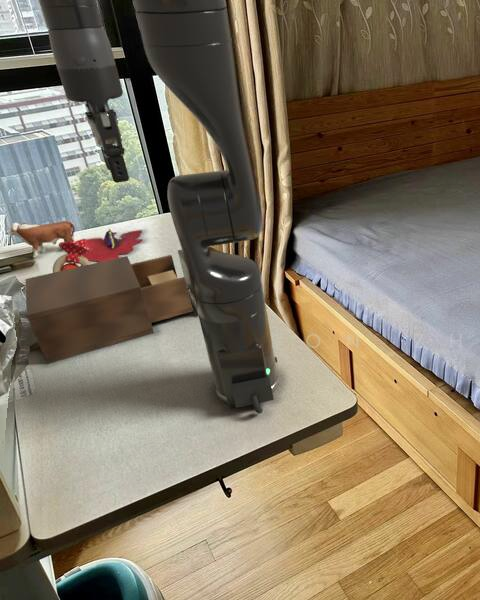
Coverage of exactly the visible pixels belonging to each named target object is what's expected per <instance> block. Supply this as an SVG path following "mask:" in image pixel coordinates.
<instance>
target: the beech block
mask: <svg viewBox="0 0 480 600" xmlns="http://www.w3.org/2000/svg"><path fill="white" fill-rule="evenodd" d="M178 278H179V277H178V276H177V277H176V275H175V273H174V272H173V270H171V271H167V272H163V273H159V274H155V275H151V276H148V280H149V284H150V285H154V284H158V283H162V282H166V281H170V280H174V279H178Z"/></svg>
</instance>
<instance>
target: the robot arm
mask: <svg viewBox="0 0 480 600" xmlns="http://www.w3.org/2000/svg"><path fill="white" fill-rule="evenodd" d="M38 3H39V7H40V10H41V13H42V17H43V20H44V23H45V27H46V29H47V32H48V38H49V43H50V48H51V52H52V55H53V58H54V61H55V65H56V69H57V71H58V75H59V78H60V81H61V85H62V87H63V91H64V94H65V97H66V99H67V100H68V101H70V102H74V103H84V102H85V107H86V108H87V111H84V115H85V118H86V121H87V123H88V125H89V127H90V130H91V133H92V137H94V138H95V140H96V143H97V145H98V146H99V147H100V150H101V154H102V157H103V160H104V164H105V167H106V169H107V170H108V171H110V174H111V175H110V176H111V178H112V180H113V183H117V184H119V183H123V182H129V180H130V175H129V172H128V169H127V165H126V162H125V157H124V156H125V150H126V149H125V147H123V143H122V142H123V137H122V133H121V130H120V126H119V117H118V115H117V111H115V109H114V108H110V106H109V103H108V102H109V100H114V99H119V98H121V97H122V96H123V94H124V91H123V87H122V83H121V78H120V75H119V72H118V68H117V64H116V61H115V57H114V53H113V48H112V45H111V42H110V39H109V37H108V34H107V32H106V29H105V27H104V22H103V18H102V16H101V15H102V14H101V11H100V7H99V2H98V0H38ZM132 3H133V4H132V5H133V7H134V11H135V16H136V20H137V24H138V29H139V33H140V37H141V38H140V39H141V41H142V45H143V49H144V53H145V56H146V60H147V61H148V64H149V65H150V67H151V69H152V70H153V71H154V72H155V74H156V75H157V76H158V78H159V79H160V80H161V81H162V83H163V84H164V85H165V86H166V87H167V88H168V90H169V91H170V92H171V93H172V94H173V95H174V96H175V97H176V98H177V99H178V100H179V101H180V103H181V104H182V105H183V106H184V107H185V108H186V109H187V110H188V111H189V112H190V113H191V114H192V116H194V118H195V119H196V120H197V121H198V122H199V123H200V125H201V126H202V127H203V128H204V130H205V131H206V132H207V134H208V135H209V137H210V139H212V141H213V142H214V144H215V145H216V147H217V148H218V150H219V152H220V154H221V156H222V158H223V160H224V162H225V164H226V167H227V168H226V169H224V170H215V171H213V170H212V171H206V172H205V171H204V172H197V173H187V174H180V175H177V176H174V177H172V178H171V179H170V180H169V182H168V185H167V201H168V208H169V211H170V216H171V221H172V224H173V226H174V230H175V233H176V235H177V239H178V242H179V244H180V248H181V250H182V252H183V255H184V258H185V262H186V266H187V270H188V274H189V278H190V282H191V287H192V291H193V295H194V297H193V299H194V303H195V307H196V310H197V315H198V320H199V323H200V327H201V328H200V329H201V332H202V335H203V336H202V337H203V340H204V344H205V348H206V349H205V350H206V352H207V357H208V361H209V365H210V369H211V374H212V377H213V381H214V387H215V392H216V395H217V397H218V398H219V400H221V402H222V401H223V402H224V403H225V404H227V407H228V408H229V409H231V408H237V409H238V408H241V407H247V406H253V409H254V412H255V413H257V414H258V415H259V414H262V413H263V409H262V407H261V406H260V404H261V403H265V402H270V401H274V400H275V399H274V392H275V391H276V389H277V388H278V386H279V383H280V376H279V372H278V369H277V363H278V357H277V356H275V352H274V346H273V339H272V334H271V327H270V323H269V317H268V311H267V305H266V304H267V303H266V299H265V298H266V297H265V292H264V285H263V280H262V274H261V270H260V267H259V265H258V264H257V263H256V261H254V260H253V259H251V258H249V257H246V256H242V255H239V254H234V253H233V254H232V253H228V252H224V251H221V250H218V249H217V248H214V247H216V246H221V245H227V244H235V243H241V242H242V243H243V242H246V241H252V240H254V239H257V238H258V237H260V234H261V233H262V229H263V213H262V212H263V211H262V205H261V200H260V195H259V190H258V185H257V181H256V176H255V172H254V167H253V161H252V157H251V153H250V148H249V143H248V139H247V134H246V130H245V124H244V119H243V115H242V107H241V101H240V100H241V99H240V94H239V86H238V77H237V68H236V61H235V54H234V46H233V38H232V33H231V32H232V31H231V26H230V19H229V14H228V8H227V7H228V6H227V1H226V0H132ZM213 246H214V247H213ZM193 295H192V296H193Z"/></svg>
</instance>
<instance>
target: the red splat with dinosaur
mask: <svg viewBox="0 0 480 600" xmlns="http://www.w3.org/2000/svg"><path fill="white" fill-rule="evenodd" d="M142 232H143V230H142V229H140V230H139V229H138V230H133V231H127V232H124V233H122V234H121V235H120V236H121V238H117V237H116V236H115V235H117V234H118V232H117V231H116V232H115V231H114V232H113V231H112V230H111V228H108V230H107V231H106V232H105V234H104V237H103V238H101V237H98V238H97V237H96V238H88V239H86V244H87V247H88V248H89V250H90V252H89V253H86V254H82V256H84V257H85V258H87V259H88V260H89V261H90V262H97V263H99V262H103V261H107V260H112V259H116V258H120V257H119V255H128V254H130V253H131V252H132V251H134V246H135V245H136V244H139V243H142V242H143V239H142V238H140V236H141V233H142Z"/></svg>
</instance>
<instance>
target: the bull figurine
mask: <svg viewBox="0 0 480 600" xmlns="http://www.w3.org/2000/svg"><path fill="white" fill-rule="evenodd" d="M75 228H76V227H75V225H74V224H73V223H72V222H71V221H68V220H63V221H57V222H52V223H45V224H27V223H26V222H22V223H21V224H20V223H19V222H13V223H12V225H11V226H10V227H9V230H10V231H9V232H8V233H9V236H16V237H17V238H19V239H21V240H22V241H23V242H24V243H25V244H27V245H29V246H31V247H32V250H33V255H32V259H37V258H38V257H39V253H38V251H39V248H40V254H44V253H45V252H46V251H47V249H46V248H44V245H43V244H53V245H56V244H57V242H58V241H59V240H63V242H68V241H74V242H75V234H74V233H75V231H76V229H75ZM60 249H61V250H62V251H64V250H63V249H62V248H61V247H60Z"/></svg>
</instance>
